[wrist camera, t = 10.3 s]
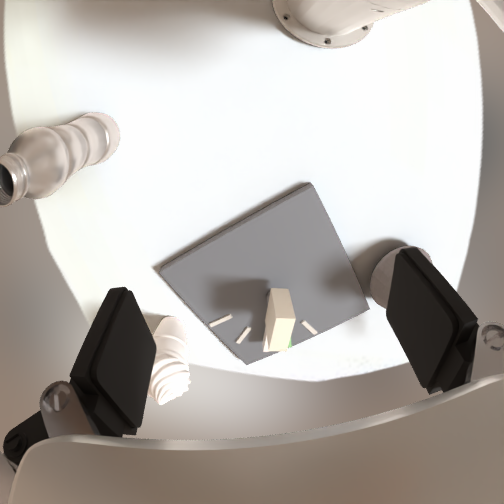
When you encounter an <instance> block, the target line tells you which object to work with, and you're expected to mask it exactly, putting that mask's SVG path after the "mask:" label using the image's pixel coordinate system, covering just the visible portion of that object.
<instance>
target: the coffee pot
mask: <svg viewBox="0 0 504 504" xmlns="http://www.w3.org/2000/svg"><path fill="white" fill-rule="evenodd" d="M409 247H415V246H403V247H399V248H397V249H395V250H393V251H391V252H389V253H388V254H387V255H385V256H384V257H383V258H382V259H381V260H380V261H379V263H378V264H377V265H376V267H375V269H374V271H373V273H372V276H371V282H370V291H371V295H372V298H373V299H374V301H375V302H376V303H377V304H378V305H380V306H382V307H384V308H385V309H387V304H388V299H389V293H390V287H391V282H392V275H393V269H394V262H395V256H396V254H397V253H399V251H400V250H401V249H403V248H409ZM417 248H418V247H417ZM418 249H419V250H420V251H421V252H422V254H423V255H424V256H425V257H426V258H427V259H428V260H429V261H430V262H431V263H432V260H431V258H430V256H429V254H428V253H427V252H426V251H425V250H423V249H421V248H418Z"/></svg>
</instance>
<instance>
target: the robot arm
mask: <svg viewBox="0 0 504 504" xmlns="http://www.w3.org/2000/svg"><path fill="white" fill-rule="evenodd" d="M428 1H430V0H272V3H273V8H274V11H275V14H276V16H277V17H278V19H279V21H280V22H281V24H282V25H283V26H284V27H285V28H286V29H287V30H288V31H289V32H290V33H291V34H293V35H294V36H295V37H297V38H298V39H300V40H302V41H304V42H306V43H308V44H311V45H313V46H317V47H321V48H330V49H335V48H343V47H347V46H351V45H353V44H356V43H357V42H359V41H361V40H362V39H364V38H365V36H366V35H367V34H368V33H369V32H370V30H371V28H372V27H373V23H374V22H375V21H378V20H380V19H383V18H385V17H388V16H391V15H393V14H396V13H399V12H402V11H404V10H407V9H410V8H413V7H416V6H419V5H422V4H424V3H426V2H428ZM476 1H477V2H478V3H479V4H480V5H481V6H482V7H483V9H484V10H485V11H486V12H487V13H488V14H489V15H490V16H491V18H492V19H493V20H494V21H495V23H496V24H497V25H498V26H499V27H500V29H501V30H502V31H503V32H504V0H476ZM284 17H287V18H288V20H285V19H284ZM362 27H363V29H364V30H363V29H362ZM324 41H327V44H325V42H324ZM386 316H387V320H388V322H389V323H390V325H391V327H392V329H393V331H394V333H395V335H396V336H397V338H398V340H399V342H400V344H401V346H402V348H403V350H404V352H405V354H406V356H407V358H408V360H409V362H410V364H411V365H412V368H413V370H414V372H415V374H416V376H417V378H418V380H419V382H420V384H421V386H422V387H423V388H426V389H427V391H428V393H429V395H430V394H432V393H435V392H438V391H440V390H442V391H443V393H442V394H439V395H436V396H433V397H431V398H428V399H425V400H422V401H419V402H416V403H413V404H411V405H407V406H404V407H401V408H398V409H394V410H391V411H388V412H385V413H381V414H377V415H374V416H370V417H366V418H362V419H358V420H354V421H350V422H345V423H341V424H336V425H332V426H327V427H322V428H316V429H311V430H305V431H299V432H292V433H285V434H278V435H269V436H260V437H250V438H237V439H220V440H156V439H135V438H122V435H123V434H126V435H136V432H137V428H139V427H140V426H141V424H142V419H143V414H144V409H145V403H146V398H147V393H148V389H149V384H150V379H151V374H152V370H153V365H154V361H155V356H156V351H157V347H156V343H155V340H154V338H153V336H152V334H151V332H150V330H149V328H148V326H147V324H146V322H145V319H144V317H143V315H142V313H141V311H140V308H139V306H138V304H137V302H136V299H135V297H134V295H133V293H132V291H130V290H129V291H128V289H127V288H126V287H119V288H111V289H110V290H109V291H108V293H107V295H106V297H105V299H104V301H103V303H102V305H101V307H100V309H99V311H98V313H97V315H96V317H95V319H94V321H93V323H92V325H91V328H90V330H89V332H88V334H87V336H86V338H85V341H84V343H83V345H82V347H81V350H80V352H79V354H78V356H77V359H76V361H75V363H74V366H73V368H72V371H71V373H70V377H71V380H70V382H69V383H68V382H67V381H56V382H54V383H52V384H50V385H49V386H48V387H47V388H46V389H45V390H44V391H43V393H42V395H41V397H40V402H39V403H40V411H38V412H37V413H35V414H34V415H32V416H31V417H30V418H28V419H27V420H25V421H24V422H22V423H21V424H19V425H18V426H16V427H15V428H13V429H12V430H11V431H9V433H8V434H7V435H6V437H5V440H4V444H3V449H4V453H2V452H1V451H0V504H504V325H502V324H500V323H498V322H493V321H489V322H485V323H483V324H481V325H480V326H479V325H478V324H477V320H478V318H477V317H476V316H475V315H474V313H473V312H472V311H471V309H470V308H469V307H468V306H467V304H466V303H465V302H464V301H463V300H462V298H461V297H460V296H459V295H458V293H457V292H456V291H455V290H454V288H453V287H452V286H451V285H450V284H449V283H448V281H447V280H446V279H445V278H444V277H443V276H442V275H441V273H440V272H439V271H438V270H437V269H436V268H435V267H434V266H433V264H432V263H431V262H430V261H429V260H428V259H427V258H426V257H425V256H424V255H423V254H422V252H421V251H420V250H419V249H418V248H417V247H409V248H403V249H401V250H400V251H399V253H397V254H396V256H395V262H394V269H393V275H392V282H391V287H390V293H389V299H388V304H387V309H386Z"/></svg>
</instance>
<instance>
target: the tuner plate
mask: <svg viewBox="0 0 504 504" xmlns="http://www.w3.org/2000/svg"><path fill="white" fill-rule="evenodd" d="M159 273H160V274H161V276H162V277H163V278H164V279H165V280H166V281H167V282H168V284H169V285H170V286H171V287H172V288H173V289H174V290H175V291H176V292H177V294H178V295H179V296H180V297H181V298H182V299H183V300H184V301H185V302H186V303H187V305H188V306H189V307H190V308H191V309H192V310H193V311H194V312H195V313H196V314H197V315H198V316H199V317H200V318H201V320H202V321H203V322H204V323H205V324H206V325H207V326H208V327H209V328H210V329H211V330H212V331H213V332H214V333H215V334H216V335H217V336H218V337H219V338H220V339H221V340H222V341H223V342H224V343H225V344H226V345H227V346H228V347H229V348H230V349H231V350H232V351H233V352H234V353H235V354H236V355H237V356H238V357H239V358H240V359H241V360H242V361H243V362H244V363H245V364H246V365H248V364H250V363H253V362H256V361H258V360H261V359H263V358H265V357H268V356H270V355H273V354H275V353H278V352H280V351H269V352H263V345H262V342H263V337H264V332H265V327H266V325H265V318H266V312H267V307H268V304H267V297H266V295H267V293H268V292H269V291H270V290H271V288H282V289H289V293H290V297H291V301H292V305H293V309H294V314H295V318H296V320H295V323H294V327H293V330H292V334H291V337H290V341H289V344H288V348H289V347H292V346H294V345H296V344H298V343H301V342H303V341H305V340H307V339H310V338H312V337H314V336H316V335H318V334H320V333H323V332H325V331H327V330H329V329H331V328H333V327H335V326H337V325H339V324H341V323H343V322H345V321H347V320H349V319H351V318H353V317H355V316H357V315H359V314H361V313H363V312H365V311H367V310H369V309H370V308H369V306H368V303H367V301H366V298H365V296H364V293H363V291H362V289H361V286H360V284H359V282H358V279H357V277H356V275H355V272H354V270H353V268H352V265H351V263H350V261H349V259H348V257H347V254H346V252H345V250H344V248H343V246H342V243H341V241H340V239H339V237H338V235H337V233H336V231H335V228H334V226H333V224H332V222H331V220H330V218H329V216H328V214H327V212H326V210H325V208H324V206H323V204H322V202H321V200H320V198H319V196H318V194H317V192H316V190H315V188H314V186H313V185H312V184H311V183H309V184H307V185H305V186H303V187H302V188H300V189H298V190H296V191H294V192H292V193H291V194H289V195H287V196H285V197H283V198H281V199H280V200H278V201H276V202H274V203H272V204H270V205H269V206H267V207H265V208H263V209H261V210H260V211H258V212H256V213H254V214H252V215H251V216H249V217H247V218H245V219H243V220H242V221H240V222H238V223H236V224H235V225H233V226H231V227H229V228H228V229H226V230H224V231H222V232H220V233H219V234H217V235H215V236H214V237H212V238H210V239H208V240H207V241H205V242H203V243H201V244H200V245H198V246H196V247H194V248H193V249H191V250H189V251H188V252H186V253H184V254H183V255H181V256H179V257H177V258H176V259H174V260H172V261H171V262H169V263H167V264H166V265H164V266H162V267H161V269H160V272H159Z"/></svg>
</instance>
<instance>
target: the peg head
mask: <svg viewBox="0 0 504 504" xmlns="http://www.w3.org/2000/svg"><path fill="white" fill-rule="evenodd" d="M266 297H267V304H268V307H267V312H266V318H265V325H266V327H265V332H264V337H263V342H262V345H263V352H269V351H287V348H288V344H289V341H290V337H291V334H292V330H293V327H294V323H295V320H296V318H295V314H294V309H293V305H292V301H291V297H290V293H289V289H282V288H271V290H270V291H269V292H268V293H267V295H266Z"/></svg>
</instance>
